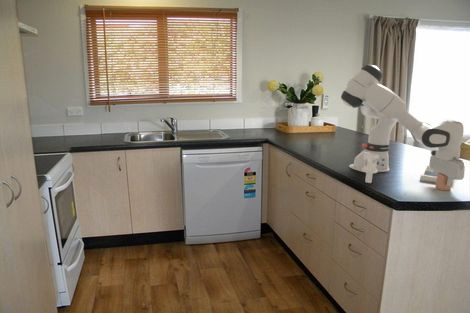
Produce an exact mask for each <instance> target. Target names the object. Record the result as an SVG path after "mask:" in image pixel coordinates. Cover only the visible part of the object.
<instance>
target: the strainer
mask: <svg viewBox="0 0 470 313" xmlns="http://www.w3.org/2000/svg"><path fill="white" fill-rule="evenodd" d="M367 155H368V156H367ZM378 158H379V155H377V154H371V153H369V152H364V158H363V159H364V160H365V164H364V168H362V171H363V172H362V173H365V183H368V184H372V181H373V175H374V174H378V172H377V171H378V170H377V169H376V165H377V160H376V159H378Z"/></svg>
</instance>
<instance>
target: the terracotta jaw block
mask: <svg viewBox="0 0 470 313" xmlns="http://www.w3.org/2000/svg"><path fill="white" fill-rule="evenodd" d="M447 180H448V176H446V175H444V174H441V173H438V174H437V180H436V183H435V188H436V189H438V190H440V191H451V188H452V186H451V185H450V186H447V185H445V182H446V181H447ZM451 184H452V185H453V182H451Z"/></svg>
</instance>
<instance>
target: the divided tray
mask: <svg viewBox="0 0 470 313" xmlns="http://www.w3.org/2000/svg"><path fill="white" fill-rule="evenodd" d="M436 173H437V172H436V171H434V170H432V169H430V167H429V164H428V165H427V164H426V165H424V167H423V169H422V172H421V174H420V178H419V181H420V182H424V183H430V184H436V180H437V174H436ZM453 181H454V180H453ZM453 181H452V184H451V187H452V186H453Z"/></svg>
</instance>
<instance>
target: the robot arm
mask: <svg viewBox="0 0 470 313" xmlns="http://www.w3.org/2000/svg"><path fill="white" fill-rule="evenodd" d="M382 77H383V73H382V71H381V70H380V69H379V67H378V66H377V65H373V64H365V65H364V66H363V67H361V69H360V70H359V71H358V72H357V73H356V74H355V76H353V77H352V78H350V79H349V81H348V82H347V85H346V88H345V89H344V90H343V92H342V93H341V96H340V98H341V100H342V102H343V103H344V104H345V105H346V106H347V107H349V108H353V109H355V108H360V112H361V114H362V115H363V116H365V117H368V118H372V119H378V122H377V124H376V125H374V126H372V127H371V128H370V129H369V131H368V139H367V140H368V141H367V142H366V143H362V144H361V146H362V148H364V150H362V151H361V152H360V153H359V154H357V155H356V156H355V158H354V161H353V163H352V164H349V165H348V166H349V168H350V169H352V170H355V171H358V172H362V173H364V172H363V171H362V168H364V164H365V160H364V159H363V158H364V152H369V153H371V154H377V155H379V158H378V159H376V160H377V165H376V169H377V170H378V171H377V173H382V172H383V173H385V172H390V167H389V164H390V163H389V162H390V160H389V156H390V155H389V152H390V146H391V145H390V139H391V133H392V130H393V128H394V126H395V125H396V124H397V123H398V124H400V125H401V126H403V127H404V128H405V129H406V130H407V131H409V133H410V134H411V136H412V138H413V140H414V141H415V142H416V143H418V144H421V145H422V146H424V147H427V148H429V149H431V148H432V149H433V148H434V149H433V150H431V151H430V158H429V164H428V165H429V167H430V169H432V170H435V171H437V173H436V174H438V173H441V174H444V175H446V176H448V180H447V181H446V182H445V185H447V186H450V185H451V182H452V181H454V180H455V181H458V180H459V181H460V180H461V181H462V180H464V178H465V170H466V169H465V164H464V163H465V162H464V161H463V159H460V156H461V151H462V150H461V144H462V142H463V139H464V124H463V123H462V122H460V121H456V120H453V119H445V120H443V121H441V122H439V123H437V124H435V125H431V124H429V123H426V122H421V121H420V120H418V119H417V118H416V117H414V116H413V114H410V112H409V111H407V108H406V106H407V105H406V102H405V101H404V100H403V98H401V97H400V96H399V95H398V94H396V93H395V92H394V91H392V90H391V89H390V88H388V87H386V86H385V85H382V84H380V82H381V80H382ZM435 148H437V149H435ZM367 156H368V155H367ZM452 183H453V182H452Z"/></svg>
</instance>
